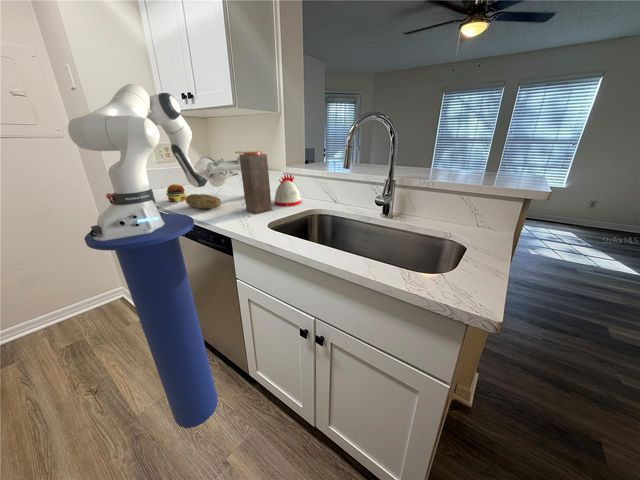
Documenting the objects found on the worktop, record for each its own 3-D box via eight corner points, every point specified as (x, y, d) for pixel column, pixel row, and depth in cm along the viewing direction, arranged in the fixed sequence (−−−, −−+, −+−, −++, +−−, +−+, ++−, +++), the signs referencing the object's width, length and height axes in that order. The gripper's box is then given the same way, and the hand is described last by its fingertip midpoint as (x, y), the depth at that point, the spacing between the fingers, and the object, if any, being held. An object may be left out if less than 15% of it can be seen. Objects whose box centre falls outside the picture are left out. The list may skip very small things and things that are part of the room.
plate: (248, 155, 112) (248, 152, 111) (229, 153, 125) (229, 150, 124) (265, 154, 117) (265, 151, 116) (245, 152, 130) (245, 150, 129)
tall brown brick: (255, 213, 121) (248, 155, 111) (246, 210, 127) (239, 154, 117) (271, 210, 127) (266, 154, 117) (262, 206, 133) (256, 153, 123)
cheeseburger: (167, 203, 142) (163, 184, 140) (169, 203, 151) (164, 186, 150) (188, 200, 146) (183, 182, 144) (188, 201, 156) (184, 184, 154)
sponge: (184, 209, 135) (196, 208, 120) (183, 194, 134) (194, 191, 119) (210, 209, 144) (224, 208, 129) (209, 194, 143) (223, 192, 128)
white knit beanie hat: (305, 203, 137) (303, 174, 131) (280, 207, 131) (278, 177, 125) (294, 198, 148) (293, 171, 142) (271, 201, 142) (269, 173, 136)
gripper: (202, 167, 139) (208, 154, 129) (237, 163, 152) (246, 152, 141) (206, 178, 139) (213, 166, 128) (241, 173, 152) (250, 163, 141)
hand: (230, 159), depth 135 cm, fingers open, 8 cm apart
